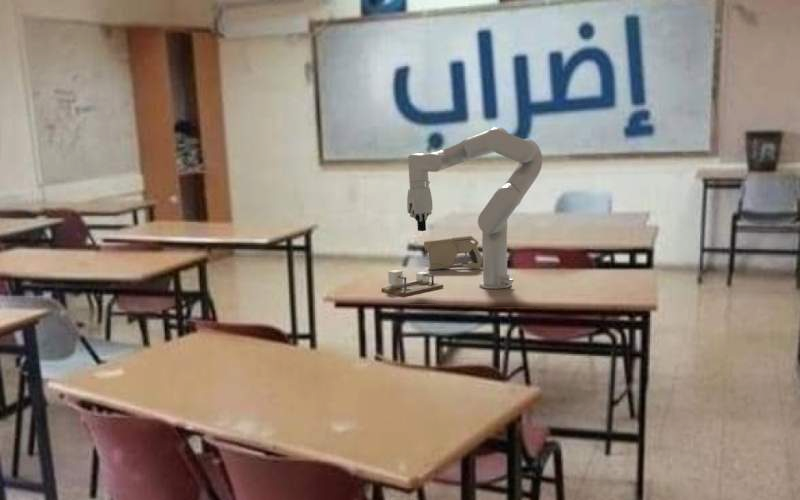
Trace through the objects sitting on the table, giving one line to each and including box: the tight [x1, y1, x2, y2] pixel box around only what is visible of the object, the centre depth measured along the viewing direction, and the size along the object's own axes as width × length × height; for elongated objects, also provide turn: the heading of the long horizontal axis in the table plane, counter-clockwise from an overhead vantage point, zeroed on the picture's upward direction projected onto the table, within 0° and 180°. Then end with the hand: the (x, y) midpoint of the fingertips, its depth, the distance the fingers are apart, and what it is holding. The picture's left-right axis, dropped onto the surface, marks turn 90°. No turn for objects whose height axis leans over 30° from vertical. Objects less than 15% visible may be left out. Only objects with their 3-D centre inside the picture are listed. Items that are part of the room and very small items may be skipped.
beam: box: [387, 271, 435, 290], centre depth 315 cm, size 8×19×4 cm, turn 128°
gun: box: [423, 235, 483, 271], centre depth 350 cm, size 24×3×15 cm, turn 84°
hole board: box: [381, 281, 444, 297], centre depth 314 cm, size 14×20×1 cm
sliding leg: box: [387, 269, 407, 289], centre depth 311 cm, size 8×4×6 cm, turn 38°
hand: (421, 230), depth 319 cm, fingers closed
